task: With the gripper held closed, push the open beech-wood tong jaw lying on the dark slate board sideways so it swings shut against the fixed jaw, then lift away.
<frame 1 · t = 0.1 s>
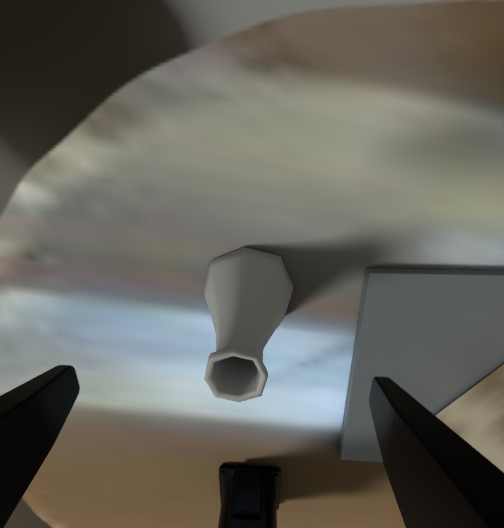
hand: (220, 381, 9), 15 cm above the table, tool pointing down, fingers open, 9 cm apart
flask: (248, 287, 24), on the table
slate board: (466, 376, 26), on the table
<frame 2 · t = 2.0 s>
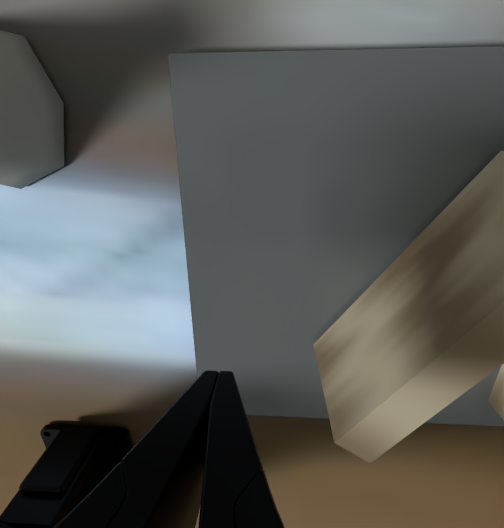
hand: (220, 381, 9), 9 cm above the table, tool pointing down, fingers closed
tongs jaw: (438, 300, 12), point 4 cm above the table, hinge at 35.0°
flask: (1, 112, 15), on the table
slate board: (371, 271, 16), on the table
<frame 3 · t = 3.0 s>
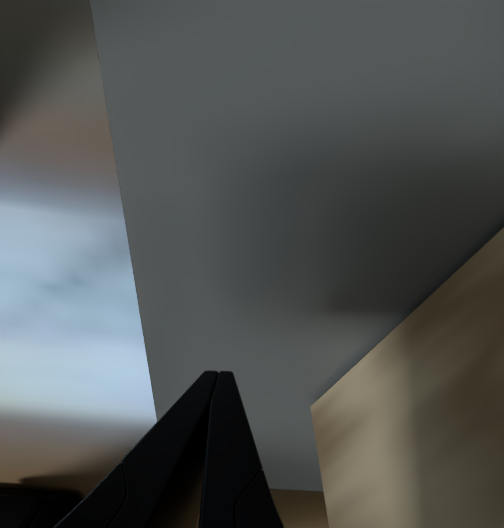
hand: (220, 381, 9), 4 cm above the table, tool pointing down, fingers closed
tongs jaw: (500, 375, 8), point 4 cm above the table, hinge at 35.0°
slate board: (389, 310, 12), on the table
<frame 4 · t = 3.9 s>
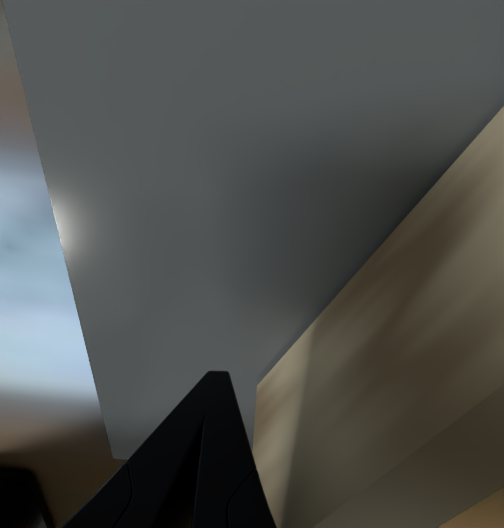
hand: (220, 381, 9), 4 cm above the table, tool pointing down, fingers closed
tongs jaw: (413, 337, 8), point 4 cm above the table, hinge at 32.8°, touching gripper
slate board: (327, 278, 12), on the table
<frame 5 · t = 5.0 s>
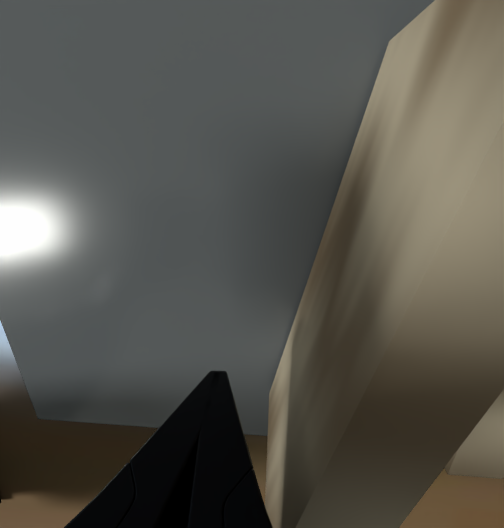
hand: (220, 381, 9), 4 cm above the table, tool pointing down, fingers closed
tongs jaw: (363, 313, 7), point 4 cm above the table, hinge at 13.0°, touching gripper
slate board: (236, 220, 11), on the table
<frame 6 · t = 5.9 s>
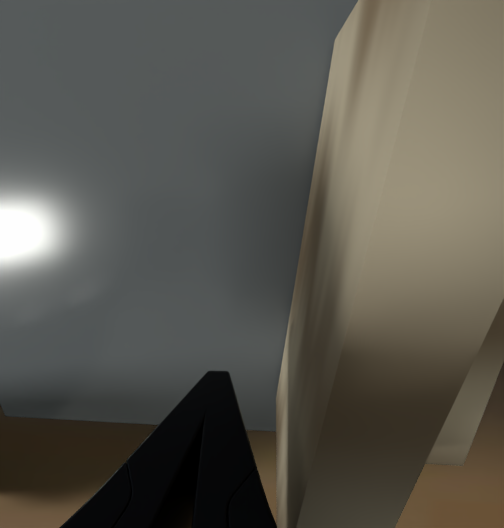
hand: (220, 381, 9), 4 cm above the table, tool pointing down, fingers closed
tongs jaw: (343, 310, 7), point 4 cm above the table, hinge at 5.7°, touching gripper
slate board: (195, 209, 11), on the table
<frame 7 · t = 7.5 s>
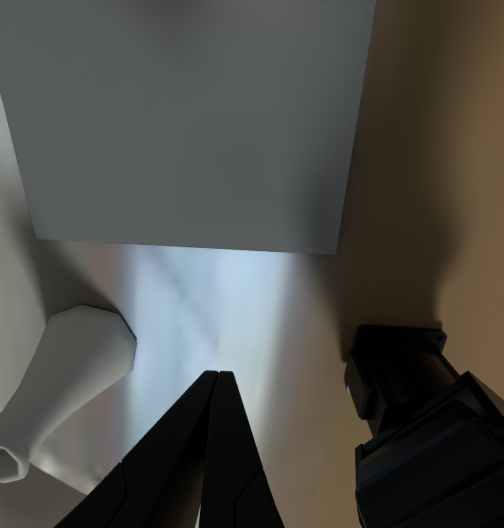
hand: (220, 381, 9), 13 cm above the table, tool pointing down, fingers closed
flask: (96, 339, 25), on the table
slate board: (181, 74, 17), on the table
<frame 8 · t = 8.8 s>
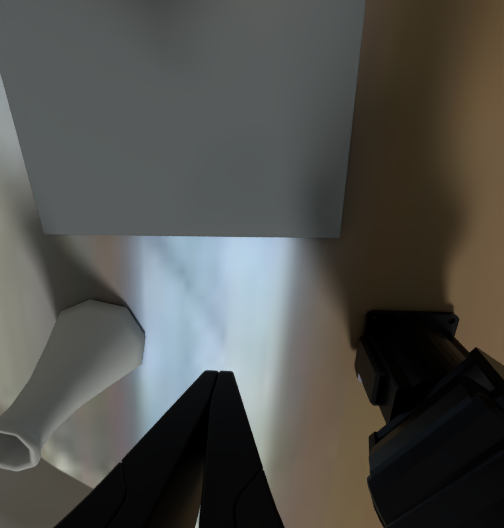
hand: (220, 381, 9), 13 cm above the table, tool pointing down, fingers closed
flask: (105, 334, 25), on the table
slate board: (178, 63, 17), on the table
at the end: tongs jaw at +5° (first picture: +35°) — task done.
